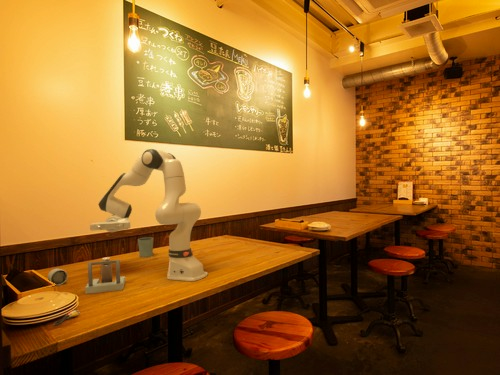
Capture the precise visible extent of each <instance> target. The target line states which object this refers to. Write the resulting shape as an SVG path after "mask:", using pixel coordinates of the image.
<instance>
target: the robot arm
mask: <svg viewBox="0 0 500 375" xmlns="http://www.w3.org/2000/svg"><path fill="white" fill-rule="evenodd" d="M154 170H156V171H160V172H161V171H162V173H163V182H164V198H163V201H162V202H161V203H160V205H159V206H158V207H157V208H156V210H155V220H156V221H157V222H158V224H160V225H168V226H169V225H171V226H172V225H177V226H176V227H175V229H174V230H173V231H171V232H170V234H169V237H168V244H169V245H168V246H169V249H168V257H169V260H168V261H169V262H168V269H167V273H166V276H167V280H172V281H173V280H174V281H183V282H185V281H186V282H195V281H199V280H201V279H204V278H206V277H207V276H208V275H209V273H208V272H207V271H204V265H203V263H202V262H201V261H200V260H199V259H198V258H196V257H195V256H194V254H193V253H194V252H195V250H192V248H191V233H192V230H193V227H194V225H195V224H196V222H197V221H198V220H199V219H200V217H201V215H202V210H201V207H200V205H199V204H198V203H195V202H181V203H180V198H181V197H182V196H183V195H184V194H186V191H187V187H186V180H185V178H186V177H185V172H184V169H183V165H182V162H181V161H180V160H179V159H177V158H176V156H175V155H173V154H171V153H169V152H165V151H163V150H158V149H153V148H150V149H145V151H143V152H142V154H140V155H139V157H137V159H136V160H135V161H134V163H133V164H132V167H131V169H129V171H127V172H123V173H122V174H121V175H119V177H117V179H116V180H115V181H114V182H113V184H112V185H111V187H110V188H108V191H107V192H106V193H105V194H104V195H103V196H102V197H100V199H99V202H98V207H99V209H100V211H103V212H105V213H108V214H111V215H110V216H108V217H107V218H106V219H105V220H104V221H99V222H97V221H96V222H92V223H90V224H89V231H91V232H92V231H102V230H103V231H104V230H105V231H106V232H109V233H115V232H119V231H123V230H124V231H125V230H129V229H130V228H131V220H130V219H129V218H130V216H131V214H132V211H133V208H132V205H131V204H130V203H129V202H126V201H124V200H122V199H119V198H118V197H115V194H116V193H117V192H118V190H119V189H120V188H121V187H123V186H130V187H131V186H132V187H140V186H143V185H145V184H146V183H147V182H148V180H149V178H150V176H151V175H152V172H153V171H154Z"/></svg>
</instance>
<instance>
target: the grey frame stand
mask: <svg viewBox="0 0 500 375" xmlns="http://www.w3.org/2000/svg"><path fill="white" fill-rule="evenodd" d="M120 261H121V260H120V259H114V260H109V261H106V260H102V261H101V260H100V261H89V262H87V277H88V278H87V284H86V286H85V287H84V291H85V295H89V294H96V293H107V292H114V291H122V290H124V287H125V285H126V276H125V275H124V276H123V275H122V276H121V264H120ZM101 264H112V265H113V264H115V279H114V281H113V282H109V283H100V278H94V279H93V277H94V276H93V266H98V265H99V266H101Z"/></svg>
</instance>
